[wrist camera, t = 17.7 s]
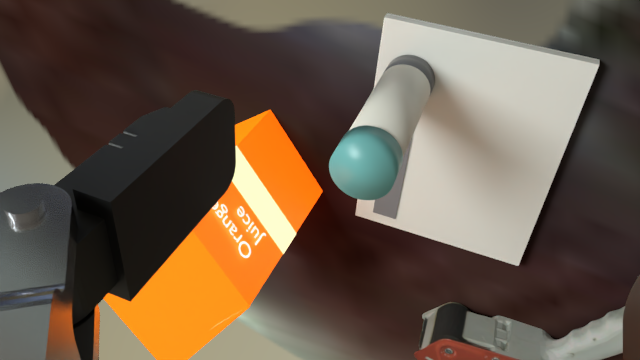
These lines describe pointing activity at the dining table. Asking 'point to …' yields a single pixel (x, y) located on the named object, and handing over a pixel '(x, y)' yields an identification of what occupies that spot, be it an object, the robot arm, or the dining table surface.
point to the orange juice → (226, 247)
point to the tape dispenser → (512, 338)
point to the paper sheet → (480, 136)
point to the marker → (383, 130)
